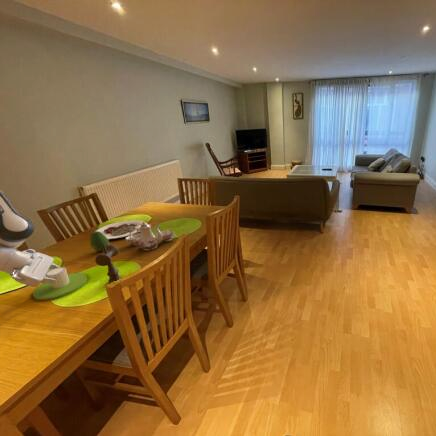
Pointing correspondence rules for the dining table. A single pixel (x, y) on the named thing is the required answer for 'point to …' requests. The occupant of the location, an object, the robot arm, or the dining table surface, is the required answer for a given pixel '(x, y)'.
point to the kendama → (109, 261)
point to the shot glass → (58, 277)
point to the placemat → (49, 292)
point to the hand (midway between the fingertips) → (59, 276)
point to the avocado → (98, 241)
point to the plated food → (120, 229)
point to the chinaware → (149, 237)
